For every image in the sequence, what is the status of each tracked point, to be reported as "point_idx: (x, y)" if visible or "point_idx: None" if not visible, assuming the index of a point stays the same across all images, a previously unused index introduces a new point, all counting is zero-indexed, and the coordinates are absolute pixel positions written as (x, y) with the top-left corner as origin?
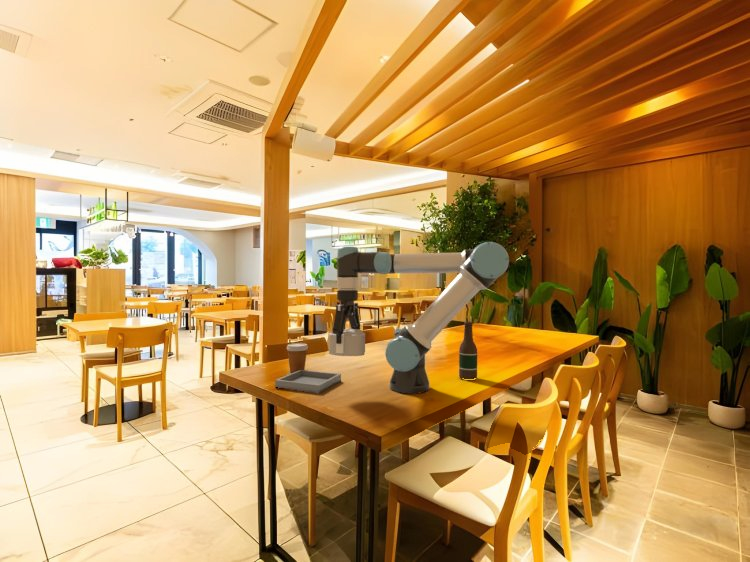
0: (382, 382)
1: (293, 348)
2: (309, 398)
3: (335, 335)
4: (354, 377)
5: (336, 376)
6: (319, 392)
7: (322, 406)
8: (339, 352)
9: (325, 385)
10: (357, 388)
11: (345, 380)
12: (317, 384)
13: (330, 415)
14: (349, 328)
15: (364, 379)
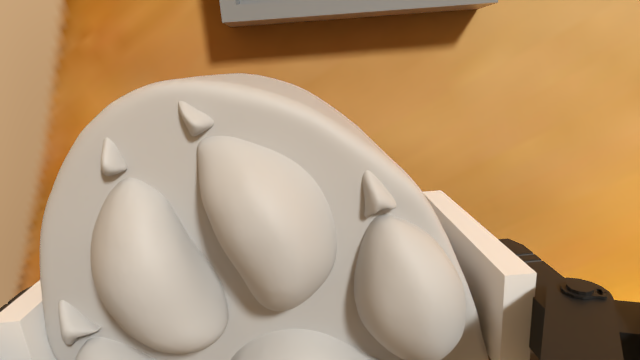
0: (530, 210)
1: None
2: (144, 27)
3: (40, 276)
4: (579, 37)
5: (437, 6)
6: (234, 26)
7: None
8: None
9: (298, 19)
10: (392, 153)
11: (505, 22)
12: (233, 1)
13: (30, 230)
14: (408, 342)
15: (556, 108)
